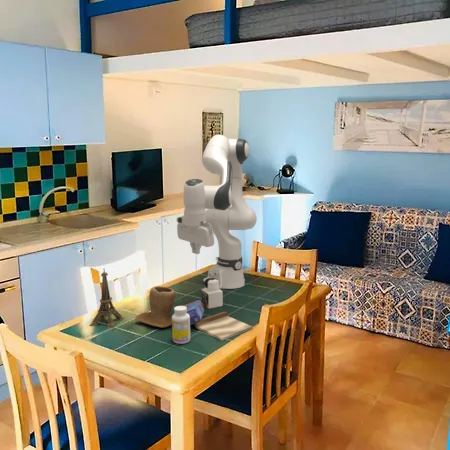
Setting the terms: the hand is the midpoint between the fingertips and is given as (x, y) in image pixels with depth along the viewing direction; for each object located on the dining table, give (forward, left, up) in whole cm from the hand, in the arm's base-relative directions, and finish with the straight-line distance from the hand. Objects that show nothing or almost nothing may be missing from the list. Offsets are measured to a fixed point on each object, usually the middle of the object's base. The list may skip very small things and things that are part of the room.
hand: (195, 253), depth 204 cm
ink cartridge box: (0, -3, -23) cm, 23 cm away
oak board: (+16, 0, -27) cm, 32 cm away
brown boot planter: (-5, -16, -28) cm, 32 cm away
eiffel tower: (-20, -31, -28) cm, 46 cm away
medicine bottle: (-6, +13, -27) cm, 31 cm away
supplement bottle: (+15, -19, -27) cm, 37 cm away
